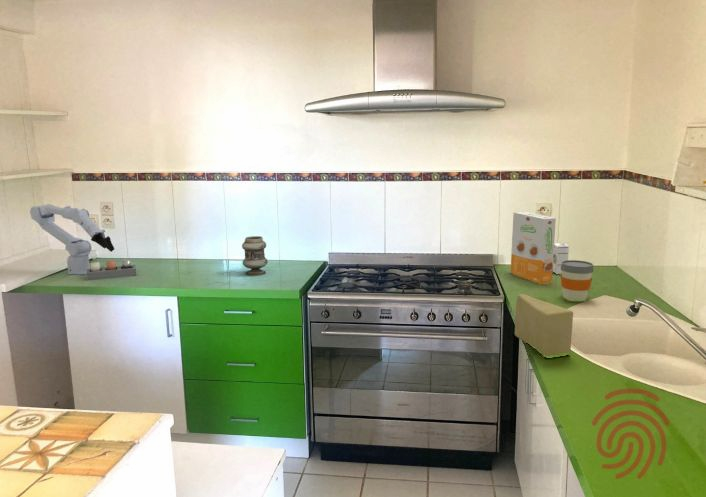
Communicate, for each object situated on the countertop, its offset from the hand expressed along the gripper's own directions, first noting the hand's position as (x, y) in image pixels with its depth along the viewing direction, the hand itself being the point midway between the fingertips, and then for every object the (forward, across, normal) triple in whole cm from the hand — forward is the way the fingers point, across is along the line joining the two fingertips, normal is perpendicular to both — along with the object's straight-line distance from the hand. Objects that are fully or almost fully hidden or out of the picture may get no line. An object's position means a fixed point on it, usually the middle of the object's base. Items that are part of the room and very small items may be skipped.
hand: (109, 248), depth 278 cm
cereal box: (+150, -4, -134) cm, 201 cm away
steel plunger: (+10, +7, +1) cm, 13 cm away
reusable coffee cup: (+165, -36, -131) cm, 214 cm away
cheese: (+158, -84, -93) cm, 201 cm away
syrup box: (+159, +3, -149) cm, 218 cm away
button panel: (+9, +6, +9) cm, 14 cm away
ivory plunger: (+3, +2, +12) cm, 13 cm away
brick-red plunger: (+7, +5, +7) cm, 11 cm away
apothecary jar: (+56, +8, -42) cm, 71 cm away
